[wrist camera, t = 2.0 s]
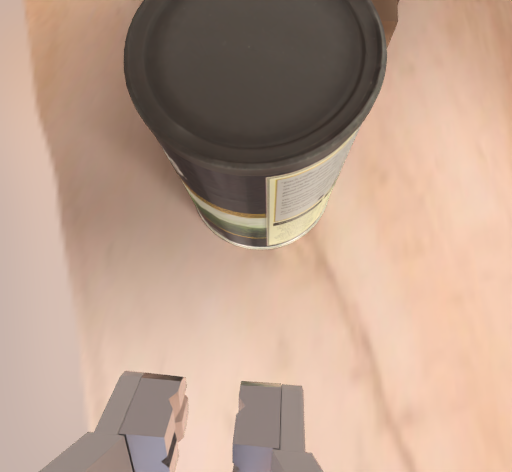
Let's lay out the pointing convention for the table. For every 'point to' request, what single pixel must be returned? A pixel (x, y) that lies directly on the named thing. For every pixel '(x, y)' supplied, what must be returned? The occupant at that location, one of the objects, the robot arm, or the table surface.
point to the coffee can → (256, 103)
